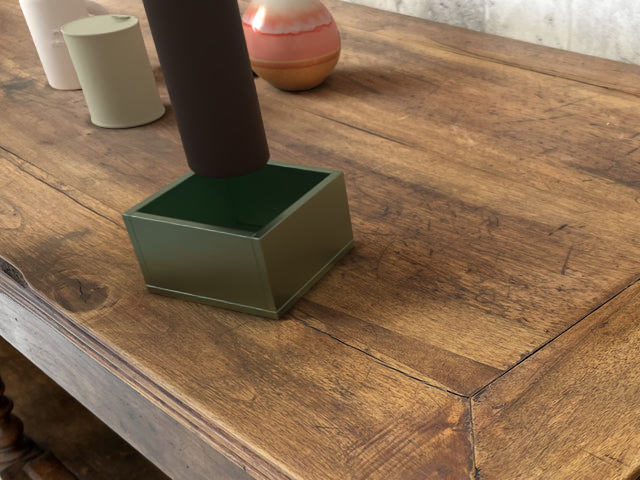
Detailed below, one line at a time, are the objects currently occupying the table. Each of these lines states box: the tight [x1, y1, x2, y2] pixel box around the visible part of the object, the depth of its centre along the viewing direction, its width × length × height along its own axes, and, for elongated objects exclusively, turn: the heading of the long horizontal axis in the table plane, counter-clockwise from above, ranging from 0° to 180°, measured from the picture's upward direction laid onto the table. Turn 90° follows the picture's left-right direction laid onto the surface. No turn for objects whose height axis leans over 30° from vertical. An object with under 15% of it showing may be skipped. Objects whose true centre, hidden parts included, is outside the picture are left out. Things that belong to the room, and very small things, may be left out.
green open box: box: [121, 159, 356, 321], centre depth 72 cm, size 14×14×8 cm
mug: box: [18, 0, 113, 91], centre depth 115 cm, size 8×12×12 cm
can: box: [61, 13, 166, 129], centre depth 102 cm, size 9×9×12 cm
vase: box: [241, 0, 342, 92], centre depth 110 cm, size 14×14×18 cm
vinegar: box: [141, 0, 271, 179], centre depth 62 cm, size 7×7×20 cm
